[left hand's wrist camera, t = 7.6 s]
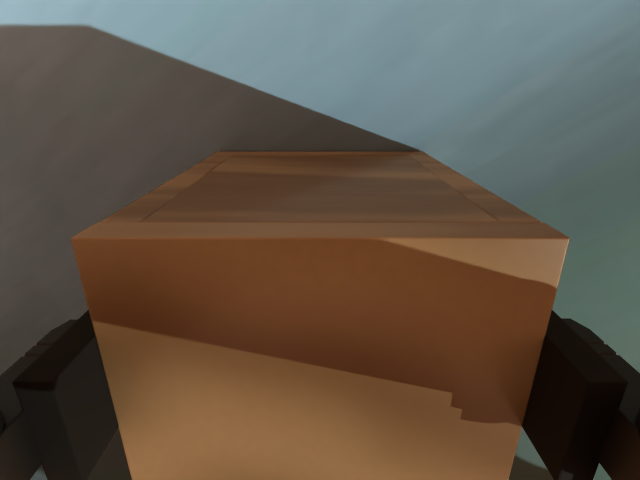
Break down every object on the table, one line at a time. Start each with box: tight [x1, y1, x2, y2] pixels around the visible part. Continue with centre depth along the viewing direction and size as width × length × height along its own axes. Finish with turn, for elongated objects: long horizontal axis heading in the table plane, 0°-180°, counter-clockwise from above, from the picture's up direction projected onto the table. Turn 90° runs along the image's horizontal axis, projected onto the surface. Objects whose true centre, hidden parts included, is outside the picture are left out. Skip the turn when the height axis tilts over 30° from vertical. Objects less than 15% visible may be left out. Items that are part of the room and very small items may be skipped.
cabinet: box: [71, 151, 570, 480], centre depth 17 cm, size 21×10×12 cm, turn 0°
